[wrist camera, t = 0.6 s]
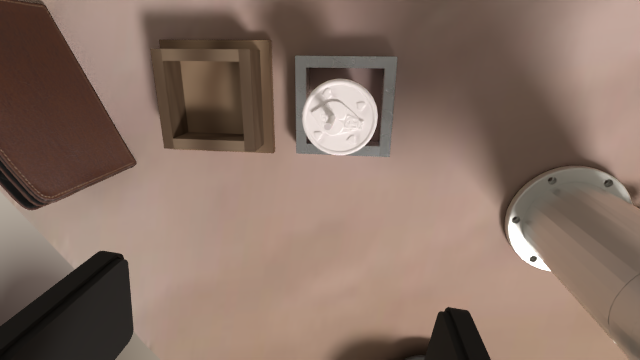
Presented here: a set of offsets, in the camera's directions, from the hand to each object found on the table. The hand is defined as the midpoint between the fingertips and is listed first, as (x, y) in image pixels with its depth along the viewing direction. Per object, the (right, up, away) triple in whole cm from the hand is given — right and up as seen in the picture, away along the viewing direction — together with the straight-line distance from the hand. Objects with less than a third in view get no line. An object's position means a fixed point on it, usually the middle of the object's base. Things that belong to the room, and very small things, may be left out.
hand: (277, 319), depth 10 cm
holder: (+4, +12, +28) cm, 31 cm away
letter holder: (-30, +13, +32) cm, 46 cm away
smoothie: (+4, +12, +28) cm, 31 cm away
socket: (-10, +14, +29) cm, 33 cm away
